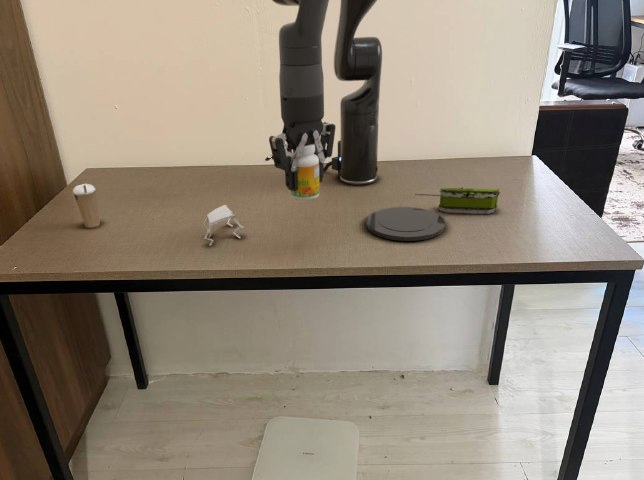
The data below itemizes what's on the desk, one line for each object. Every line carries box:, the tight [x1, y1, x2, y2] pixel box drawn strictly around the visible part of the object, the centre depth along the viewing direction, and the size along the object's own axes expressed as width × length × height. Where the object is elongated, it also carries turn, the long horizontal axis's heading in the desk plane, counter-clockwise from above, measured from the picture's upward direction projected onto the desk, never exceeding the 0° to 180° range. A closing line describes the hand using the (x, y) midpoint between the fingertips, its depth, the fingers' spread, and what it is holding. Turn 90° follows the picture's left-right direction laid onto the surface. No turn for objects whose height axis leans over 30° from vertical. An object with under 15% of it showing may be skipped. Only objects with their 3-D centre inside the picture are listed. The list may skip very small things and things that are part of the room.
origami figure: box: [202, 204, 245, 246], centre depth 117 cm, size 12×8×5 cm
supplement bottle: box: [290, 144, 321, 201], centre depth 104 cm, size 5×5×10 cm
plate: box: [366, 206, 446, 242], centre depth 118 cm, size 16×16×1 cm
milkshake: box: [72, 183, 101, 229], centre depth 123 cm, size 5×5×10 cm
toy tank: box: [416, 187, 501, 215], centre depth 125 cm, size 7×19×10 cm
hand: (305, 185), depth 106 cm, fingers closed on supplement bottle, 5 cm apart
